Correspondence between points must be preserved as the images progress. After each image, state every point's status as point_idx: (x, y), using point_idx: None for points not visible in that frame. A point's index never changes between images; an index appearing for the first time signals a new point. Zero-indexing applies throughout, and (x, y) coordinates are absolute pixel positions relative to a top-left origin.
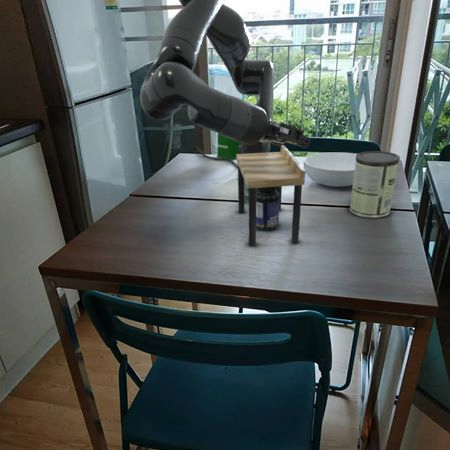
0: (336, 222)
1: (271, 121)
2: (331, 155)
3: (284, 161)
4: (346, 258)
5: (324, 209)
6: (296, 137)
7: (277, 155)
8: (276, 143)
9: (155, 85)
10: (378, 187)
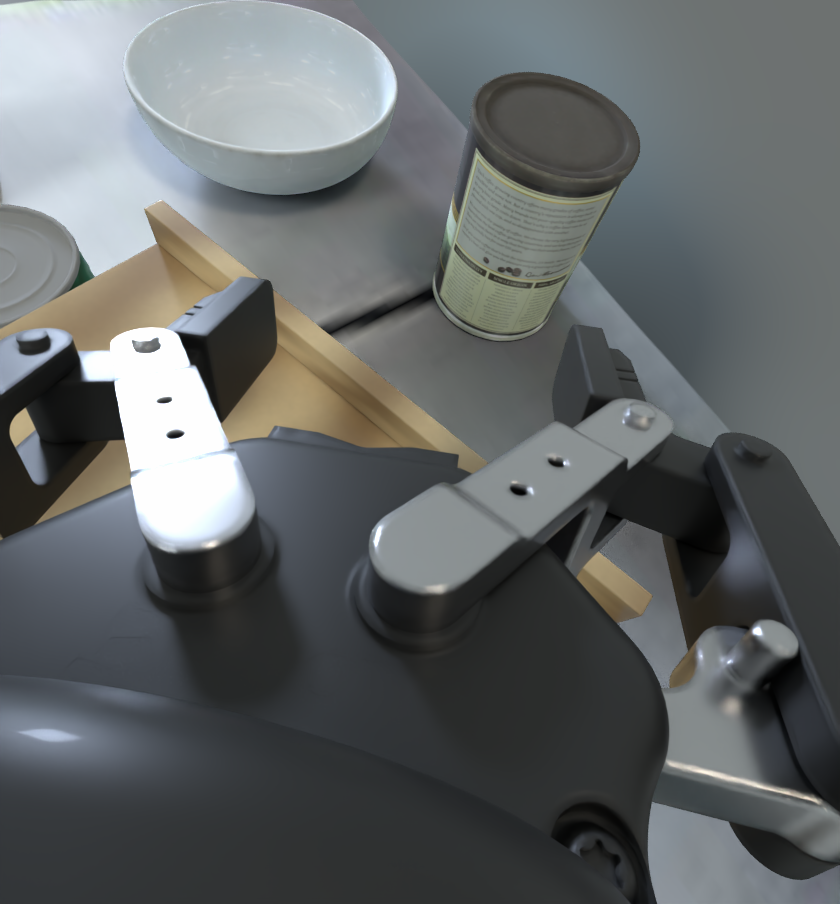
0: (473, 417)
1: (465, 584)
2: (194, 22)
3: (300, 389)
4: (677, 644)
5: (375, 346)
6: (714, 534)
7: (181, 307)
8: (254, 368)
9: None
10: (575, 256)
